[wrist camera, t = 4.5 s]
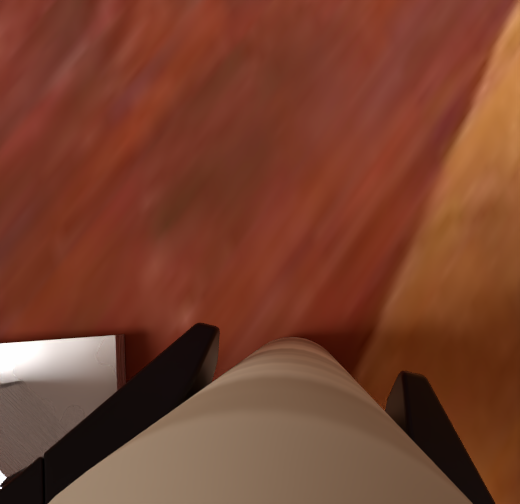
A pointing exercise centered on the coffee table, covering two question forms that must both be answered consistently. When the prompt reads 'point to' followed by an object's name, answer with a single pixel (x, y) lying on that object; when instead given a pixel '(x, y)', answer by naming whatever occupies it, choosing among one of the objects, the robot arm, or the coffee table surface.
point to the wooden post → (271, 443)
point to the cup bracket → (52, 392)
